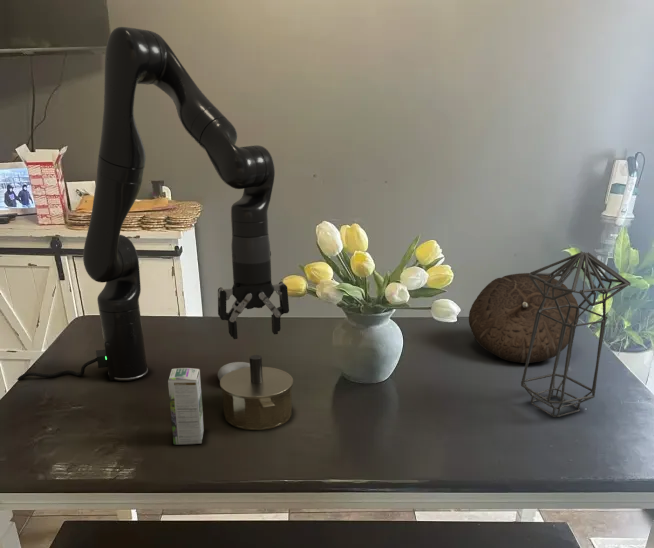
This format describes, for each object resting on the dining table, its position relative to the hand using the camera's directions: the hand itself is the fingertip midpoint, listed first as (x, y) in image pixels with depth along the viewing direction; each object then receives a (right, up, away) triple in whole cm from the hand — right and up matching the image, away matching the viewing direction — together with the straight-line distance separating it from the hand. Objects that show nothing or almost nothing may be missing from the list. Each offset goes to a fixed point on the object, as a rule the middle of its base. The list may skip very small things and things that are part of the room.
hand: (254, 335), depth 140 cm
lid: (0, -10, +5) cm, 11 cm away
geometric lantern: (+67, -14, +14) cm, 70 cm away
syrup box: (-13, -21, -1) cm, 25 cm away
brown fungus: (+67, +3, +45) cm, 81 cm away
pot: (0, -16, +9) cm, 18 cm away
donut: (-7, -7, +25) cm, 27 cm away
